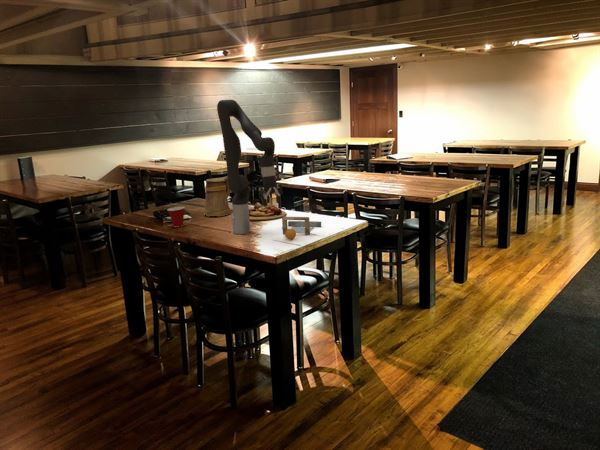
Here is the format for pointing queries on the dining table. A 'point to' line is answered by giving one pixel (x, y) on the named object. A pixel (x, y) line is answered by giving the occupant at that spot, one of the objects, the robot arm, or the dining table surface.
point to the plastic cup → (177, 215)
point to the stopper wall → (303, 224)
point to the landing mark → (301, 229)
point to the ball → (290, 234)
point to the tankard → (217, 197)
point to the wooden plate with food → (265, 213)
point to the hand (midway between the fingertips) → (272, 204)
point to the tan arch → (307, 223)
